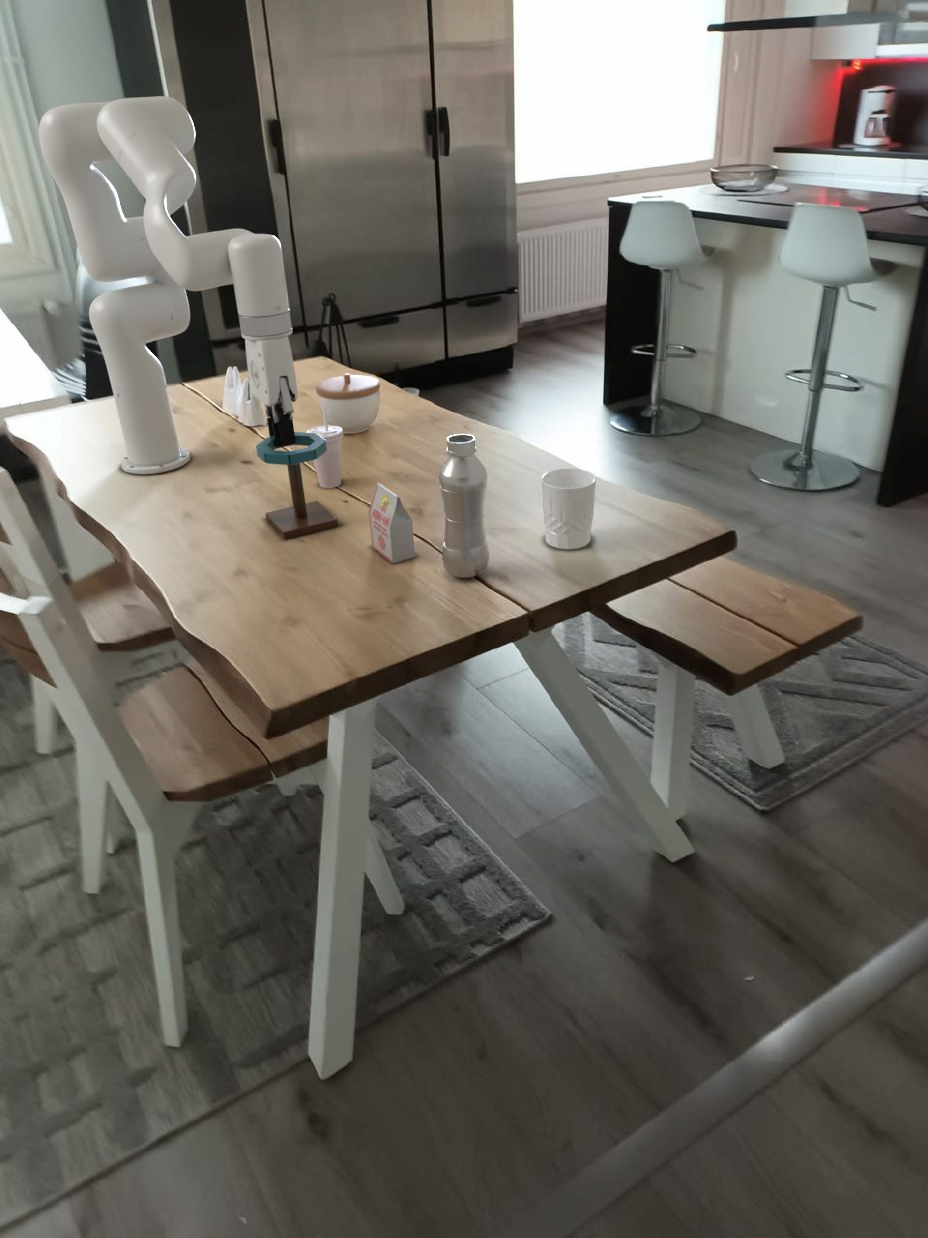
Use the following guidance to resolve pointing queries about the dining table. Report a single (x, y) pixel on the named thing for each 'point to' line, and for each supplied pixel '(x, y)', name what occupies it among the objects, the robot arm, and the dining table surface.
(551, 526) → the white cup
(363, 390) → the lidded bowl
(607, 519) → the dining table surface
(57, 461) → the dining table surface
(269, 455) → the ring
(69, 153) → the robot arm
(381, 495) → the white milk carton
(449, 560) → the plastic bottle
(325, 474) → the smoothie
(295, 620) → the dining table surface
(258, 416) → the white twin peak shape
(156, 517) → the dining table surface
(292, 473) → the brown peg stand
